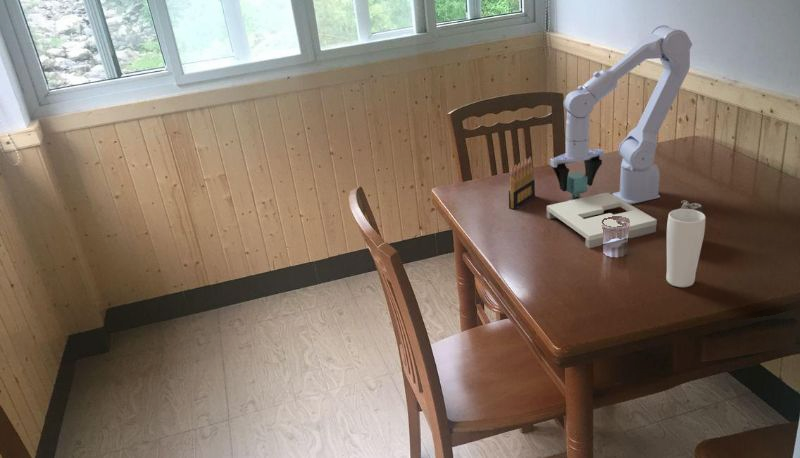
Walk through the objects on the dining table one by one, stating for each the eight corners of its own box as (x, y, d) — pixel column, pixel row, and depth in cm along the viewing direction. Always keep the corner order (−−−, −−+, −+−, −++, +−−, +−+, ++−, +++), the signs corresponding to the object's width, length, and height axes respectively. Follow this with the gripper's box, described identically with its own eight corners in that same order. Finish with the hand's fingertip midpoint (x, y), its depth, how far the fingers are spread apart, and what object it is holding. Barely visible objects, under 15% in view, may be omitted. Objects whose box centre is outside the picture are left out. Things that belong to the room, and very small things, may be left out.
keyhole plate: (607, 203, 164) (607, 192, 163) (655, 232, 147) (656, 219, 145) (546, 217, 161) (546, 205, 159) (588, 248, 143) (589, 236, 142)
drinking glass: (656, 276, 129) (661, 210, 123) (687, 271, 129) (694, 206, 123) (672, 292, 123) (678, 224, 117) (704, 287, 123) (713, 220, 117)
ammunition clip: (514, 209, 167) (513, 168, 162) (508, 208, 168) (507, 167, 163) (535, 196, 174) (534, 155, 169) (529, 195, 175) (528, 154, 170)
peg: (578, 199, 169) (579, 171, 165) (587, 204, 165) (588, 176, 162) (564, 202, 168) (564, 174, 164) (573, 207, 164) (573, 179, 161)
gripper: (593, 129, 164) (591, 177, 169) (544, 139, 161) (544, 187, 166) (608, 136, 158) (606, 185, 163) (558, 146, 154) (557, 196, 160)
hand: (576, 187), depth 164 cm, fingers open, 7 cm apart
